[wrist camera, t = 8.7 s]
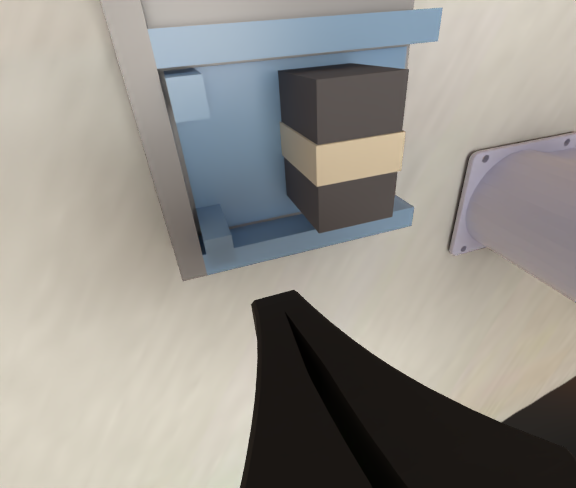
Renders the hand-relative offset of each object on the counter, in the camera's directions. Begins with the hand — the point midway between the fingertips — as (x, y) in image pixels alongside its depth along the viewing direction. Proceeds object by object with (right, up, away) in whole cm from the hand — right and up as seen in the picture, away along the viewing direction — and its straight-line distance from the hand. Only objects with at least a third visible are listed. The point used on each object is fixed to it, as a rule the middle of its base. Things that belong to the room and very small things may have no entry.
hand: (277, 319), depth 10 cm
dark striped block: (+2, +8, +7) cm, 11 cm away
